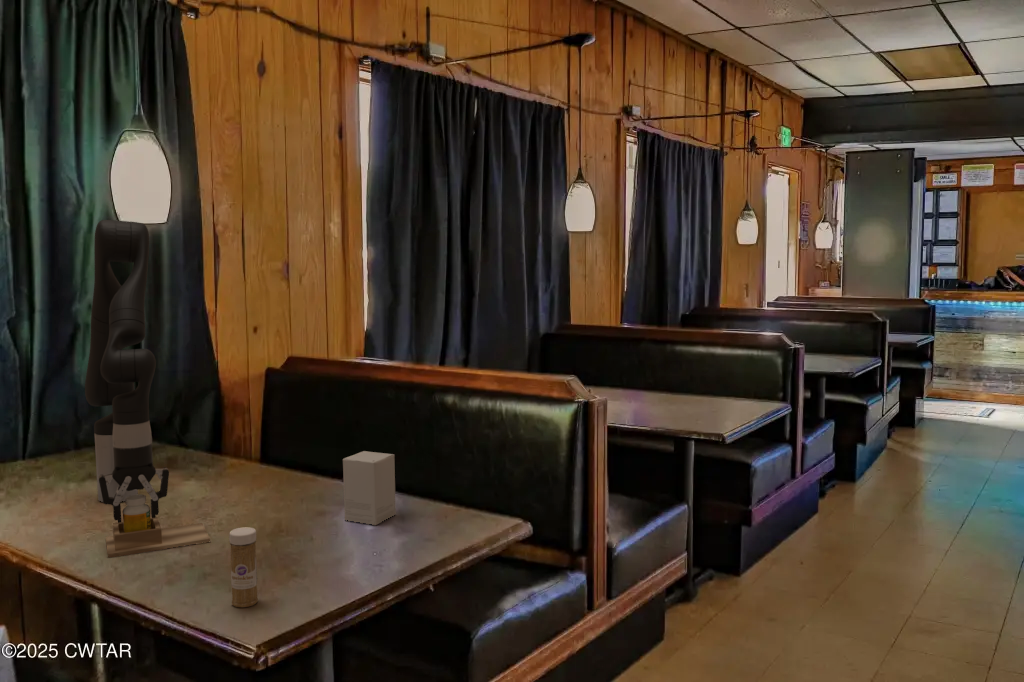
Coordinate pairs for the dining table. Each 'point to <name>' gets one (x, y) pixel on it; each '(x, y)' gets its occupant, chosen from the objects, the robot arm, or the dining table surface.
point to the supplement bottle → (136, 514)
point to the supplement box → (369, 487)
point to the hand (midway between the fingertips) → (136, 519)
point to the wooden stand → (153, 538)
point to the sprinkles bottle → (243, 566)
